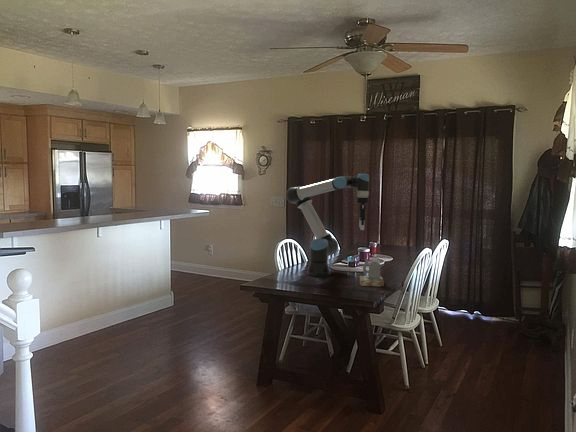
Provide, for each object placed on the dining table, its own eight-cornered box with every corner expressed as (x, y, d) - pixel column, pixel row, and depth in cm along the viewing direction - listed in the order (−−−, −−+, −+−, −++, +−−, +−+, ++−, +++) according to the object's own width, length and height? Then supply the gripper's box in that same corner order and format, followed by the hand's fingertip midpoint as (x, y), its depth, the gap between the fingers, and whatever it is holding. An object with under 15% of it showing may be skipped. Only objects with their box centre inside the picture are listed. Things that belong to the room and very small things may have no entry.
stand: (360, 285, 295) (360, 280, 295) (359, 280, 309) (359, 275, 308) (383, 286, 294) (383, 281, 293) (381, 281, 307) (381, 275, 307)
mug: (377, 280, 296) (378, 261, 294) (360, 277, 302) (360, 258, 301) (382, 277, 302) (383, 259, 301) (365, 275, 309) (365, 256, 307)
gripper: (369, 198, 305) (368, 231, 307) (367, 196, 330) (366, 226, 332) (358, 198, 306) (356, 230, 308) (356, 195, 331) (355, 226, 333)
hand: (361, 228), depth 320 cm, fingers open, 13 cm apart
